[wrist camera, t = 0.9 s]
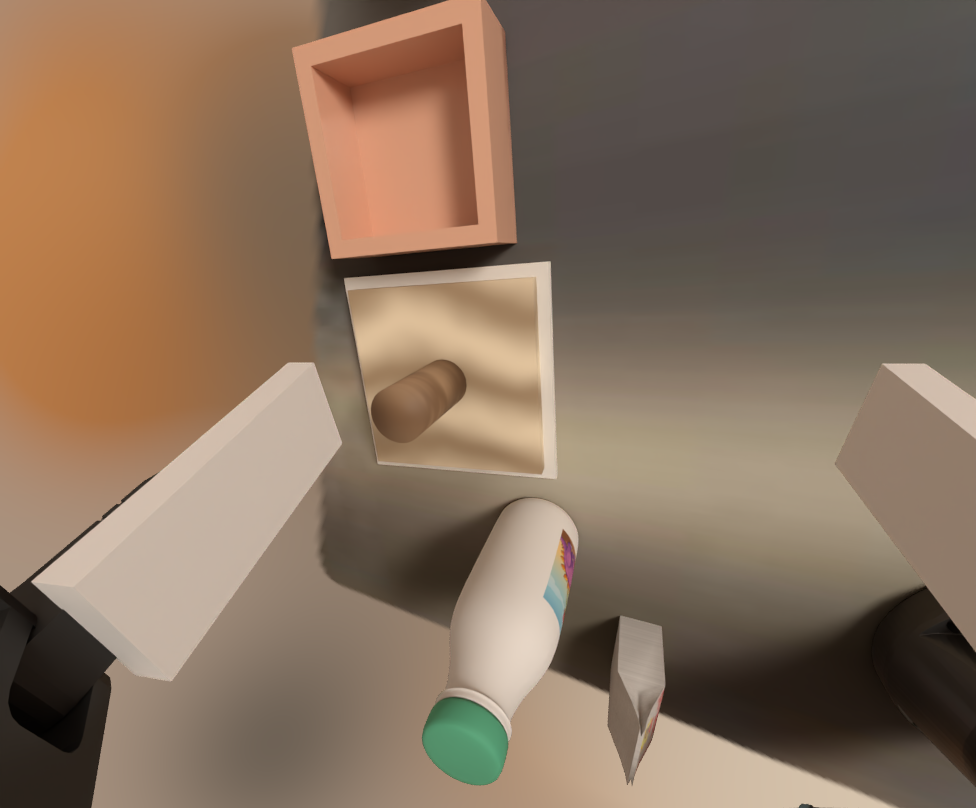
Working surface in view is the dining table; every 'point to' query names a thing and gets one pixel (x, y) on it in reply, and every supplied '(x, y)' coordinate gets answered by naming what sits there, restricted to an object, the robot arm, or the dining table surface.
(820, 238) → the dining table surface
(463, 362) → the lid
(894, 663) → the robot arm
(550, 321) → the mat
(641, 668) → the grey box
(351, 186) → the dish
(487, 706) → the milk bottle
